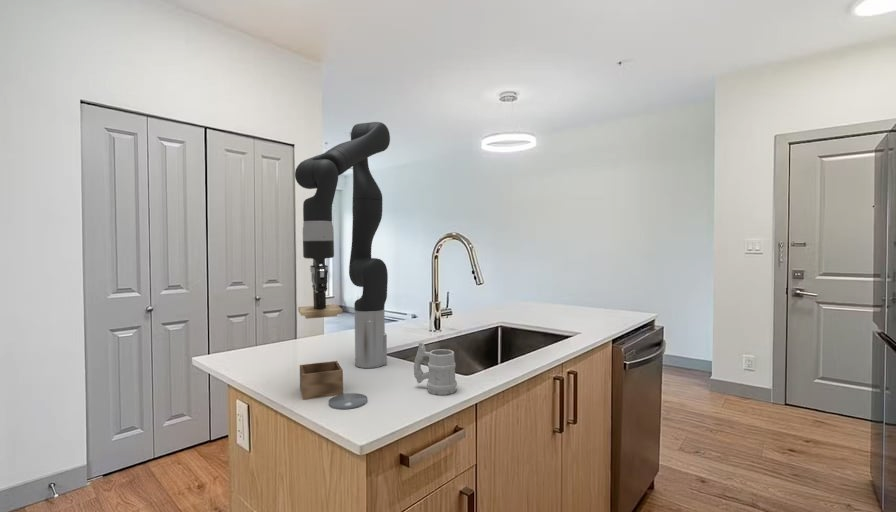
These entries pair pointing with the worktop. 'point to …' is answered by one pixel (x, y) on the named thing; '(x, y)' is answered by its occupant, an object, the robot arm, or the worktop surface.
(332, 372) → the tea box
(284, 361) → the worktop surface
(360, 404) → the coaster
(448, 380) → the mug
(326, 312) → the lid
